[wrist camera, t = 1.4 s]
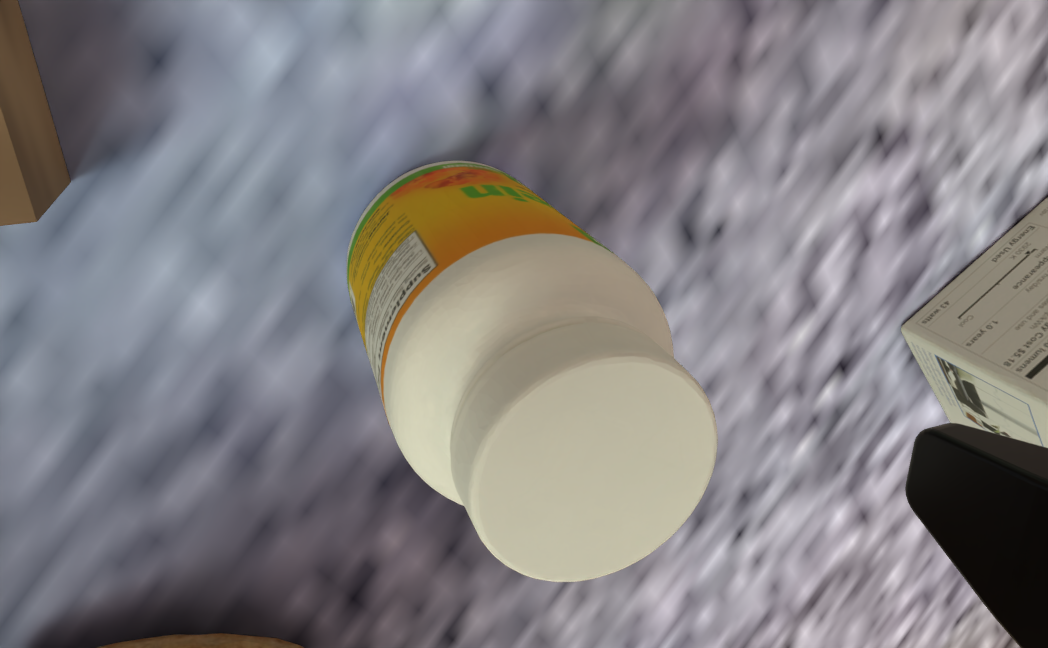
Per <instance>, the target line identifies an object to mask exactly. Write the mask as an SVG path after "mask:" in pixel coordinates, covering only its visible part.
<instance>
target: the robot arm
mask: <svg viewBox="0 0 1048 648" xmlns="http://www.w3.org/2000/svg"><path fill="white" fill-rule="evenodd" d="M905 490H906V496H907V500H908V502H909V505H910V507H911V508H912V510H913V511H914V513H915V514H916V515H917V517H918V518H919V519H920V520H921V522H922V523H923V524H924V526H925V527H926V528H927V530H928V531H929V532H930V534H931V535H932V536H933V538H934V539H935V540H936V542H937V543H938V544H939V545H940V547H941V548H942V549H943V551H944V552H945V553H946V555H947V556H948V557H949V559H950V560H951V561H952V563H953V564H954V565H955V567H956V568H957V569H958V570H959V572H960V573H961V574H962V576H963V577H964V578H965V580H966V581H967V582H968V584H969V585H970V586H971V588H972V589H973V590H974V592H975V593H976V594H977V595H978V597H979V598H980V599H981V601H982V602H983V603H984V605H985V606H986V607H987V608H988V610H989V611H990V612H991V613H992V615H993V616H994V617H995V618H996V620H997V621H998V622H999V623H1000V624H1001V625H1002V627H1003V628H1004V629H1005V630H1006V631H1007V632H1008V634H1009V635H1010V636H1011V637H1012V638H1013V639H1014V640H1015V642H1016V643H1017V644H1018V645H1019V646H1020V647H1021V648H1048V448H1046V447H1043V446H1039V445H1035V444H1032V443H1028V442H1024V441H1021V440H1017V439H1014V438H1010V437H1006V436H1003V435H999V434H995V433H992V432H988V431H985V430H981V429H977V428H974V427H970V426H966V425H963V424H958V423H947V424H943V425H939V426H935V427H931V428H928V429H925V430H923V431H921V432H920V433H919V434H918V436H917V437H916V439H915V442H914V447H913V452H912V457H911V461H910V466H909V471H908V476H907V481H906V487H905Z"/></svg>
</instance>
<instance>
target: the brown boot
mask: <svg viewBox="0 0 1048 648" xmlns="http://www.w3.org/2000/svg"><path fill="white" fill-rule="evenodd" d="M97 648H304V647H302V646H300V645H297V644H294V643H291V642H287V641H284V640H281V639H277V638H269V637H258V636H247V635H236V634H224V633H217V634H205V635H167V636H160V637H152V638H145V639H138V640H132V641H125V642H119V643H114V644H109V645H105V646H101V647H97Z"/></svg>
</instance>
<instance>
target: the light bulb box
mask: <svg viewBox="0 0 1048 648" xmlns="http://www.w3.org/2000/svg"><path fill="white" fill-rule="evenodd" d="M901 332H902V334H903V336H904V338H905V340H906V342H907V344H908V345H909V347H910V349H911V351H912V353H913V355H914V356H915V358H916V360H917V362H918V364H919V366H920V367H921V369H922V371H923V373H924V375H925V377H926V378H927V380H928V382H929V384H930V386H931V388H932V389H933V391H934V393H935V395H936V397H937V399H938V400H939V402H940V404H941V406H942V408H943V410H944V412H945V414H946V415H947V417H948V419H949V421H950V423H958V424H963V425H966V426H970V427H974V428H977V429H981V430H985V431H988V432H992V433H995V434H999V435H1003V436H1006V437H1010V438H1014V439H1017V440H1021V441H1024V442H1028V443H1032V444H1035V445H1039V446H1043V447H1046V448H1048V197H1047V198H1046V199H1045V200H1044V201H1043V202H1042V203H1040V204H1039V205H1038V206H1037V207H1036V208H1035V209H1034V210H1032V211H1031V212H1030V213H1029V214H1028V215H1027V216H1026V217H1025V218H1023V219H1022V220H1021V221H1020V222H1019V223H1018V224H1017V225H1016V226H1014V227H1013V228H1012V229H1011V230H1010V231H1009V232H1008V233H1006V234H1005V235H1004V236H1003V237H1002V238H1001V239H1000V240H999V241H997V242H996V243H995V244H994V245H993V246H992V247H991V248H990V249H988V250H987V251H986V252H985V253H984V254H983V255H982V256H980V257H979V258H978V259H977V260H976V261H975V262H974V263H973V264H971V265H970V266H969V267H968V268H967V269H966V270H965V271H963V272H962V273H961V274H960V275H959V276H958V277H957V278H956V279H954V280H953V281H952V282H951V283H950V284H949V285H948V286H947V287H945V288H944V289H943V290H942V291H941V292H940V293H939V294H938V295H936V296H935V297H934V298H933V299H932V300H931V301H930V302H929V303H927V304H926V305H925V306H924V307H923V308H922V309H921V310H920V311H918V312H917V313H916V314H915V315H914V316H913V317H911V318H910V319H909V320H908V321H907V322H906V323H905V324H904V325H903V326H902V327H901Z"/></svg>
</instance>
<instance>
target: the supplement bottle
mask: <svg viewBox="0 0 1048 648" xmlns="http://www.w3.org/2000/svg"><path fill="white" fill-rule="evenodd" d="M346 273H347V284H348V290H349V295H350V300H351V303H352V307H353V310H354V314H355V317H356V320H357V323H358V326H359V330H360V332H361V335H362V339H363V342H364V345H365V348H366V351H367V355H368V358H369V360H370V364H371V367H372V370H373V373H374V377H375V380H376V383H377V386H378V390H379V393H380V397H381V400H382V403H383V406H384V410H385V413H386V417H387V420H388V423H389V425H390V427H391V430H392V432H393V434H394V437H395V439H396V442H397V444H398V446H399V448H400V450H401V451H402V453H403V455H404V457H405V459H406V460H407V461H408V463H409V464H410V465H411V467H412V468H413V469H414V471H415V472H416V473H417V474H418V475H419V476H420V477H421V478H422V479H423V480H424V481H425V482H426V483H427V484H428V485H429V486H430V487H432V488H433V489H434V490H436V491H437V492H439V493H440V494H442V495H443V496H445V497H446V498H448V499H450V500H452V501H454V502H456V503H458V504H460V505H463V506H465V508H466V510H467V513H468V515H469V517H470V519H471V521H472V523H473V525H474V527H475V529H476V531H477V533H478V535H479V537H480V539H481V541H482V542H483V543H484V545H485V546H486V547H487V549H488V550H489V551H490V552H491V553H492V554H493V555H494V556H495V557H496V558H497V559H498V560H500V561H501V562H502V563H503V564H505V565H506V566H508V567H509V568H511V569H513V570H515V571H517V572H519V573H521V574H523V575H526V576H529V577H532V578H535V579H540V580H546V581H553V582H575V581H584V580H589V579H594V578H598V577H601V576H604V575H608V574H611V573H614V572H616V571H619V570H621V569H623V568H626V567H628V566H630V565H632V564H633V563H635V562H637V561H639V560H641V559H642V558H644V557H645V556H647V555H649V554H650V553H652V552H653V551H654V550H655V549H657V548H658V547H659V546H660V545H662V544H663V543H664V542H665V541H667V540H668V539H669V538H670V537H671V536H672V535H673V534H674V533H675V532H676V531H677V530H678V529H679V528H680V527H681V526H682V524H683V523H684V522H685V521H686V520H687V518H688V517H689V516H690V515H691V513H692V512H693V510H694V509H695V507H696V506H697V504H698V503H699V501H700V499H701V498H702V496H703V494H704V492H705V490H706V488H707V485H708V483H709V480H710V478H711V475H712V472H713V468H714V465H715V460H716V453H717V441H718V439H717V426H716V421H715V416H714V412H713V410H712V407H711V404H710V402H709V400H708V398H707V396H706V394H705V392H704V391H703V389H702V387H701V386H700V385H699V383H698V382H697V381H696V380H695V379H694V378H693V377H692V376H691V375H690V374H689V373H688V372H687V371H686V370H685V369H684V368H683V367H682V366H681V365H680V364H679V363H678V362H677V361H676V360H675V359H674V355H673V345H672V339H671V333H670V329H669V326H668V322H667V319H666V317H665V314H664V312H663V310H662V308H661V306H660V304H659V302H658V300H657V298H656V296H655V294H654V293H653V291H652V290H651V289H650V287H649V286H648V285H647V284H646V283H645V281H644V280H643V279H642V278H641V277H640V276H639V275H638V274H637V273H636V272H635V271H634V270H633V269H632V268H631V267H629V266H628V265H627V264H626V263H625V262H624V261H623V260H621V259H620V258H619V257H618V256H616V255H615V254H614V253H613V252H611V251H610V250H609V249H607V248H606V247H605V246H603V245H602V244H601V243H599V242H598V241H597V240H595V239H594V238H593V237H591V236H590V235H589V234H587V233H586V232H585V231H583V230H582V229H581V228H579V227H578V226H577V225H575V224H574V223H573V222H571V221H570V220H569V219H567V218H566V217H565V216H563V215H562V214H561V213H559V212H558V211H557V210H556V209H554V208H553V207H552V206H551V205H549V204H548V203H547V202H545V201H544V200H543V199H541V198H540V197H539V196H538V195H536V194H535V193H534V192H533V191H531V190H530V189H529V188H528V187H526V186H525V185H523V184H522V183H521V182H519V181H518V180H516V179H514V178H513V177H511V176H510V175H508V174H506V173H505V172H503V171H501V170H498V169H496V168H494V167H491V166H488V165H485V164H481V163H476V162H469V161H443V162H437V163H432V164H428V165H425V166H421V167H419V168H416V169H414V170H411V171H409V172H407V173H405V174H403V175H402V176H400V177H398V178H397V179H395V180H394V181H393V182H391V183H390V184H389V185H387V186H386V187H385V188H384V189H383V190H382V191H381V192H380V193H379V194H377V196H376V197H375V198H374V199H373V200H372V201H371V203H370V204H369V205H368V206H367V208H366V209H365V211H364V212H363V214H362V215H361V217H360V219H359V221H358V223H357V224H356V227H355V229H354V232H353V234H352V237H351V240H350V244H349V248H348V253H347V271H346Z"/></svg>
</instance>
